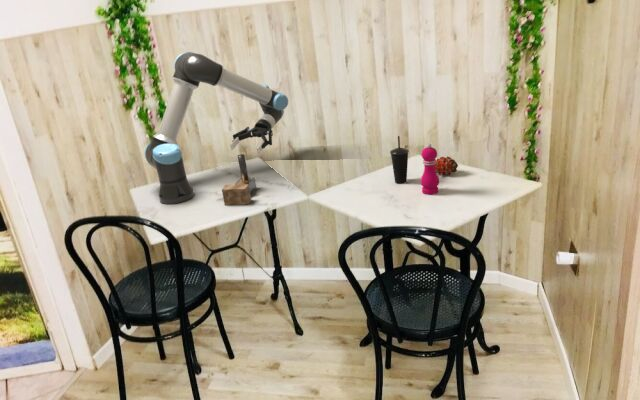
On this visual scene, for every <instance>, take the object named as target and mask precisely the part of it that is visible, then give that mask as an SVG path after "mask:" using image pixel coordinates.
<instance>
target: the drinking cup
mask: <svg viewBox="0 0 640 400" xmlns="http://www.w3.org/2000/svg"><path fill="white" fill-rule="evenodd" d="M400 141H401V139H400V135H397V147H396V148H393V149H392V150H390V151H389V154H390V157H391V164H392V170H393V177H394V178H393V179H394V183H395V184H396V185H397V184H398V185H404V184H406V183H407V180H408V162H409V159H408V158H409V153H410V150H409V149H408V148H404V147H401V142H400Z"/></svg>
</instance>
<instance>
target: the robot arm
mask: <svg viewBox="0 0 640 400" xmlns="http://www.w3.org/2000/svg"><path fill="white" fill-rule="evenodd" d="M173 65H174V66H173V67H174V73H173V76H172V79H173V81H174V84H173V87H172V89H171V93H170V96H169V99H168V101H167V105H166V108H165V110H164V114H163V116H162V119H161V122H160V125H159V129H158V131H157V133H156V134H153V135H152V137H151V141H150V142H149V143H148V144H147V145H146V147H145V150H144V157H145V160H146V161H147V162H148V164H149V165H150V166H151V167H152V168H154V169H155V170H156V173H157V178H158V182H159V191H158V199H159V202H160V203H162V204H166V205H172V204H175V205H176V204H179V203H183V202H186V201H189V200H190V199H192V198H194V196H195V191H194V188H193V186H192V185H191V183H190V181H189V179H188V178H187V173H186V167H185V164H184V160H183V159H184V158H183V153H182V150H181V148H180V146H179V142H178V137H179V136H178V135H179V133H180V130H181V128H182V124H183V122H184V119H185V117H186V116H185V115H186V113H187V110H188V107H189V105H190V101H191V98H192V95H193V93H194V90H196V89H198V88H199V85H200V83H203V84H208V85H210V86H213V87H215V86H219V87H221V88H224V89H227V90H229V91H231V92H233V93H236V94H239V95H241V96H243V97H245V98H248V99H250V100H252V101H256V102H258V103H259V106H260V108H261V110H262V112H263V115H262V116H261V117H260V118H259V120H258V121H257V122H255V124H254V126H253V128H250V127H249V126H247V127H245V128H243V129H242V130H240V131H238V132H236V133H234V134H232V139H233V140H231V143H230V144H229V145H230V149H231V151H232V150H234V149H235V148H236V147H238V145H239V143H240V142H241V141H243V140H246V139H249V138H252V139H253V138H261V139H262V141H261V142H260V143H259V145H258V146H257V147H256V149H255V150H256V153H257V154H260V153H261V151H263V149H265V148H266V147H267V146H268V145H269V146H273V136H274V134H273V133H274V132H273V128H274V127H276V125H277V124H278V122H279V121H280V120H281V119H282V117H283V116H284V111H285V109H286V108H287V107H288V104H289V99H288V96H287V95H285V94H283V93H281V92H277V91H275V90H272V89H271V88H270V87H269V85H268V84H260V83H257V82H255V81H253V80H250V79H249V78H246V77H244V76H241V75H239V74H237V73H235V72H232V71H230V70H227V69H225V68H224V65H222V64H220V63H218V62H216V61H214V60H212V59H210V58H208V57H207V56H205V55H204V54H201V53H195V52H192V51H187V52H183V53H181V54H179V55H178V56H177V57H176V58H175V60H174V64H173ZM266 136H268V138H267V137H266Z"/></svg>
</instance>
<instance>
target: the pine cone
mask: <svg viewBox="0 0 640 400" xmlns="http://www.w3.org/2000/svg"><path fill="white" fill-rule="evenodd" d="M458 167H459V164H458V163H457V162H456V160H455V159H454V158H452V157H450V156H446V157H444V156H440V157H439V158H436V163H435V171H436V173H437V174H439V175H441V176H442V177H444V176H446V175H447V176H450V175H452V174H453V173H456V172H457V171H458Z"/></svg>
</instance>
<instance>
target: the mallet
mask: <svg viewBox="0 0 640 400" xmlns="http://www.w3.org/2000/svg"><path fill="white" fill-rule="evenodd" d="M237 159H238V160H237V162H238V168H239V173H240V178H241V180H240V181H239V182H238V183H237V184H236V185H246V184H248V183H249V181H250V180H251V179H252V178H251V177H249V175H248V168H247V161H246V157H245V154H244V153H241V154H238V155H237Z"/></svg>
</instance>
